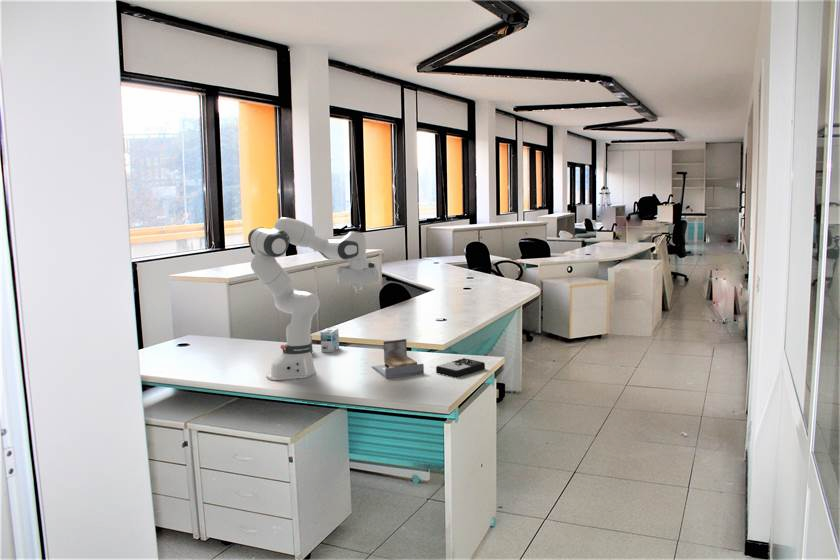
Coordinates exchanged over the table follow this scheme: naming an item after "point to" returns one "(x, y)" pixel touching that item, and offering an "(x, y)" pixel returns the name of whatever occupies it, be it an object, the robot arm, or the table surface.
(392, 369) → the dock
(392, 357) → the open brown box
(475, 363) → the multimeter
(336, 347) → the light bulb box
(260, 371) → the table surface
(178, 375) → the table surface
